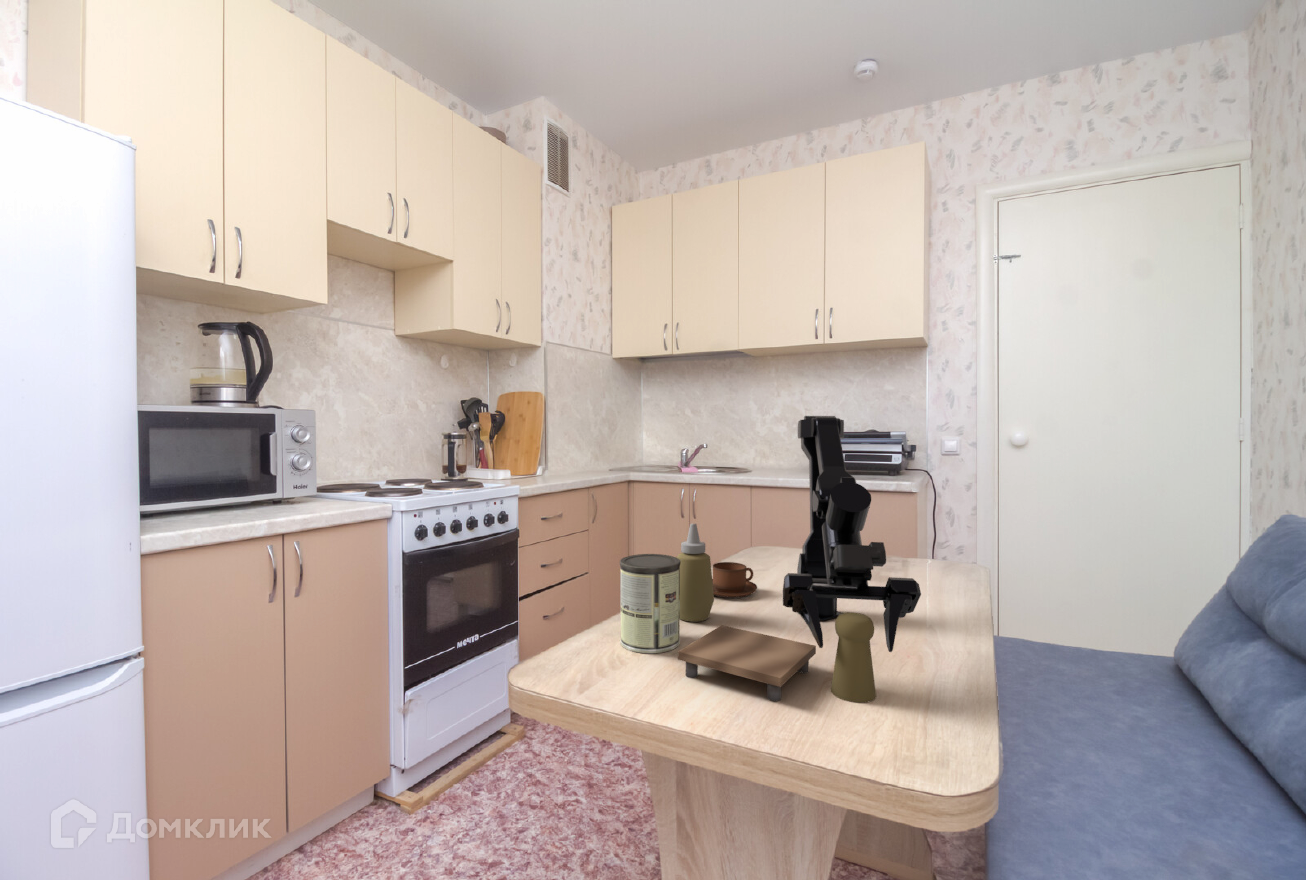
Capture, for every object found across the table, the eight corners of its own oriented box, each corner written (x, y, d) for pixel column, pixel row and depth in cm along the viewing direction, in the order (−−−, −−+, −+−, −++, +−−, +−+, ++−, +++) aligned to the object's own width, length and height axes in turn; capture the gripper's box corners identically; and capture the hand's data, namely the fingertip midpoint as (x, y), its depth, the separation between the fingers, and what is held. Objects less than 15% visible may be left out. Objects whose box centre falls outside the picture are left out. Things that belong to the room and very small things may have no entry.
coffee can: (632, 628, 109) (632, 551, 109) (687, 635, 106) (687, 556, 106) (609, 649, 100) (610, 564, 99) (669, 657, 96) (670, 569, 96)
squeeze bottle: (669, 611, 119) (669, 520, 119) (710, 610, 120) (710, 520, 119) (674, 625, 111) (674, 528, 111) (717, 624, 112) (718, 527, 111)
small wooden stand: (677, 676, 89) (677, 651, 89) (721, 646, 101) (721, 625, 101) (780, 705, 80) (780, 678, 80) (815, 669, 92) (815, 645, 92)
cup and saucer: (724, 583, 141) (725, 557, 141) (767, 594, 132) (768, 566, 132) (690, 593, 133) (690, 565, 132) (734, 605, 124) (734, 576, 124)
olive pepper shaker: (869, 684, 87) (871, 608, 87) (881, 703, 81) (883, 622, 81) (826, 682, 88) (828, 607, 87) (835, 701, 82) (836, 621, 81)
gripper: (785, 518, 89) (790, 617, 78) (918, 522, 86) (942, 625, 76) (780, 559, 97) (784, 654, 86) (902, 564, 94) (922, 662, 84)
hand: (855, 648), depth 83 cm, fingers open, 9 cm apart
